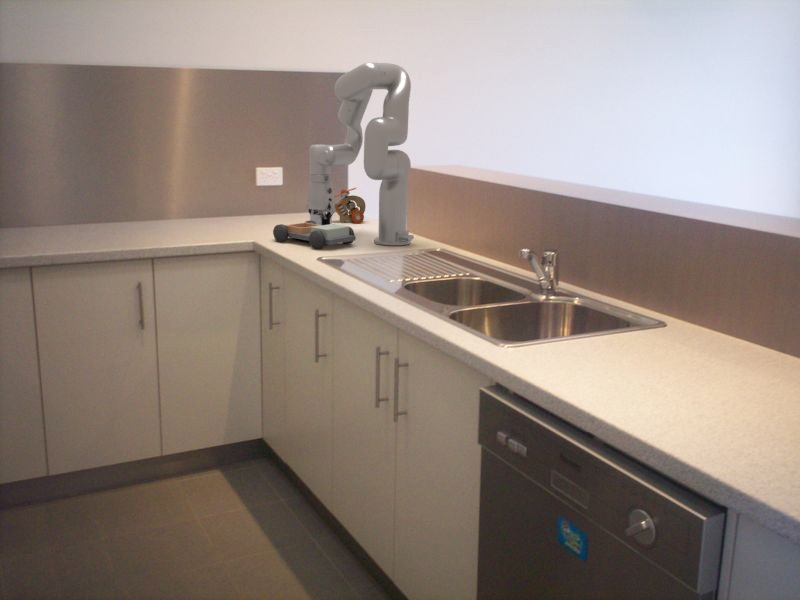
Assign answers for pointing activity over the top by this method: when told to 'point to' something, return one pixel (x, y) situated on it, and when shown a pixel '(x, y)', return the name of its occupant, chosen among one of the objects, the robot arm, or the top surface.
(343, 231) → the chassis
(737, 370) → the top surface
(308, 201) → the robot arm
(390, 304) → the top surface
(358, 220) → the toy helicopter
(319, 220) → the engine block
